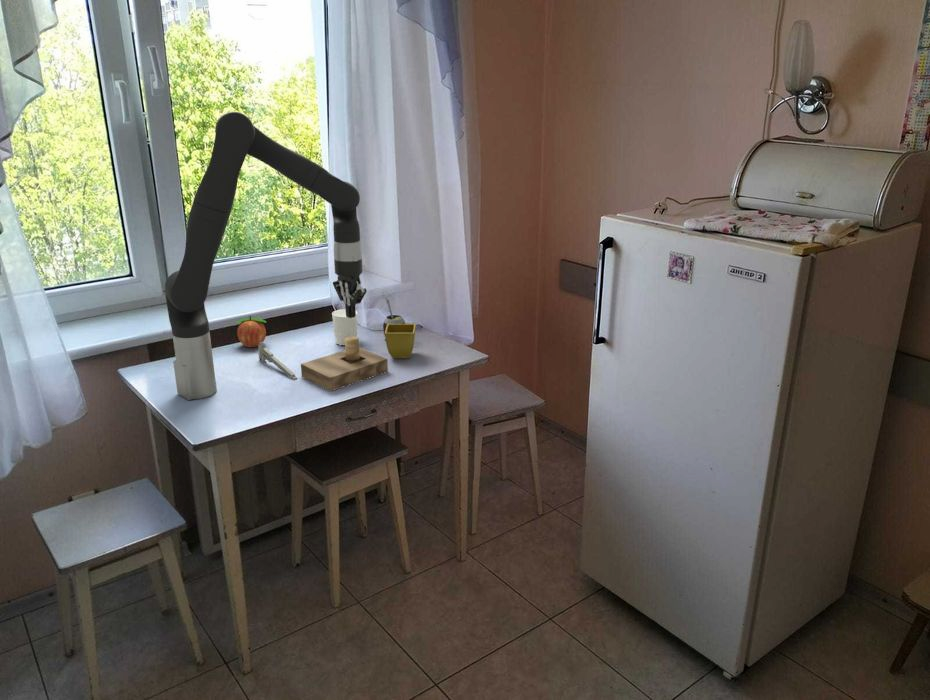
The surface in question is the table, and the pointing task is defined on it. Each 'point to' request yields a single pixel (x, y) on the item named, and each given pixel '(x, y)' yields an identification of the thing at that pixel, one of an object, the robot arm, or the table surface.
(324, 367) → the board
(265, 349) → the caliper
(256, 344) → the fruit
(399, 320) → the mate gourd
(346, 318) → the white cup
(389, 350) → the flower pot
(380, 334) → the table surface
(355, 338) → the peg
